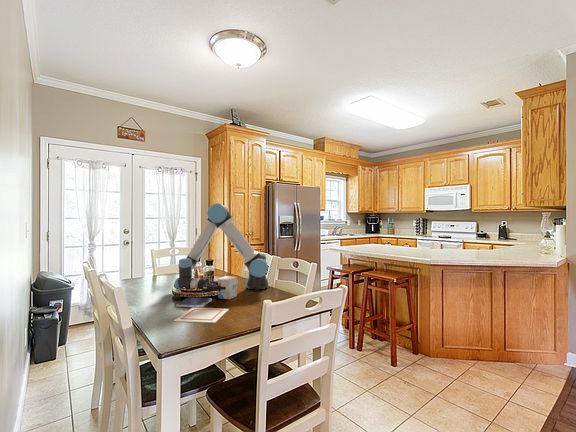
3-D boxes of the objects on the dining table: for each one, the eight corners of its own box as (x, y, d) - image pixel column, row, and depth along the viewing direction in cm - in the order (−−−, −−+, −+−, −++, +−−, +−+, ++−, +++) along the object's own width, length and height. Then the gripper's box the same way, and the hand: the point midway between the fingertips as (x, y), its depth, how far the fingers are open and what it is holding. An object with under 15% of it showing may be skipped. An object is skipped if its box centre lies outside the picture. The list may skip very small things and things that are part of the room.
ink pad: (211, 300, 176) (211, 297, 176) (202, 307, 163) (202, 304, 163) (187, 299, 178) (187, 296, 178) (175, 306, 164) (175, 303, 164)
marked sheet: (228, 309, 159) (228, 308, 159) (215, 322, 139) (215, 321, 139) (192, 308, 161) (192, 307, 161) (173, 321, 141) (173, 320, 141)
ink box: (217, 298, 179) (217, 278, 179) (224, 294, 187) (224, 275, 187) (230, 299, 176) (230, 279, 176) (237, 295, 184) (237, 276, 184)
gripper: (208, 286, 196) (241, 288, 191) (190, 295, 175) (227, 297, 170) (208, 275, 196) (241, 276, 191) (190, 282, 175) (227, 283, 170)
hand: (234, 286), depth 181 cm, fingers closed on ink box, 9 cm apart
